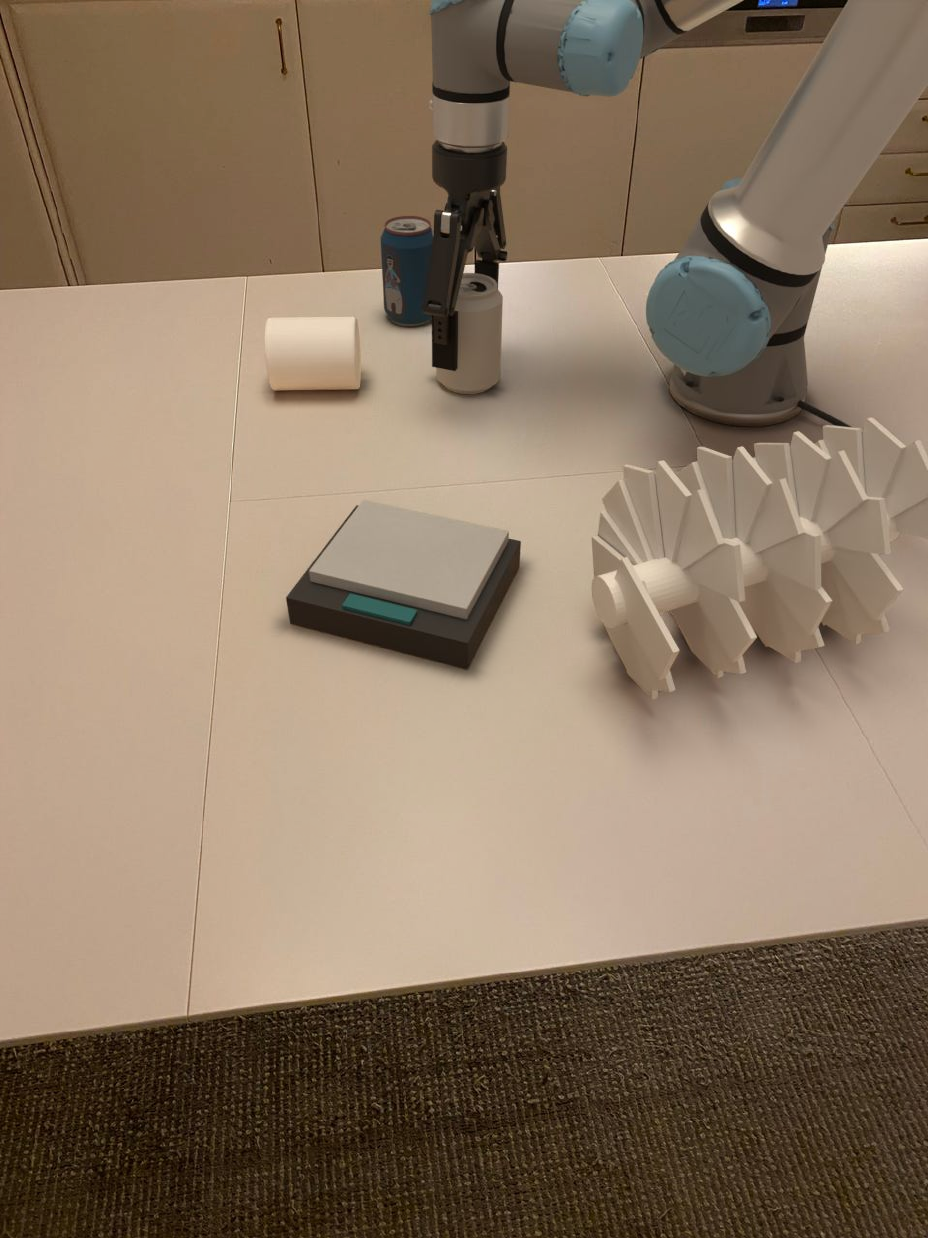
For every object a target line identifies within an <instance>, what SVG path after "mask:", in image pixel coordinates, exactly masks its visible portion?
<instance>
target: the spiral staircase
mask: <svg viewBox="0 0 928 1238" xmlns="http://www.w3.org/2000/svg"><path fill="white" fill-rule="evenodd" d="M852 427H853V426H851V427H842V426H835V425H833V424H831V425H829V424H825V425H823V426H822V437H823V439H818V440H817V441H816V442H815V443H814V442H813V441H811V440H810V439H809V438H808V437H807V436H806V435H805V434H803V433H802V432H800V431H799V430H797V431H793V433H792V436H791V437H792V438H791V442H790V443H789V442H757V443H753V450H754V457H752V456H751V454H750V453H749V452H748V451H747V449H746V448H745V447H744V446H743V445H742V446H738V447H736V450H735V453H734V456H731V455H728V454H725V453H724V452H720V451H716V450H714V449H711V448H708V447H705V446H704V445H703V446H698V447H696V454H697V455H696V456H697V458H696V459H697V460H696V461H693V462H690V463H689V464H688V465H687V466H684V468H682V469H681V470H679V471H678V472H676V473H675V472H674V471H673V469H672V468H671V467H670V466H669V465H668V463H667V462H666V461H665V460H664V459H662V460H659V461H657V462H656V463H657V464H656V469H655V471H653V470H650V469H646V468H642V467H639V466H635V465H631V464H624V465H622V470H623V471H622V472H623V479H620V480H617V482H616V483H615V484H614V485H613V486H612V487H610V489H609V491H608V492H607V493H606V494H605V495H604V496H603V497H602V498H601V500H602V503H603V506H604V509H605V510H603V511H600V515H599V520H598V521H599V522H598V529H597V534H595V535H591V551H592V565H593V566H592V567H593V568H592V569H593V578H592V580H591V589H590V590H591V591H590V592H591V597H592V598H591V599H592V602H593V605H594V606H593V607H594V609H595V611H596V614H597V616H598V619H600V621H601V622H602V624H603V625H604V626H605V630H606V633H607V635H608V637H609V639H610V641H611V643H612V644H613V646H614V649H615V650H616V652H617V654H618V656H619V658H620V660H621V662H622V664H623V666H624V667H625V669H626V674H627V675H628V676H629V677H630V678H631V679H632V680H633V681H634V683H636V684H637V685H638V686H639V687H640V688H641V690H642V691H643V692H644V693H646V695H648V697H649V698H650V699H651V700H654V699H657V698H659V692H665V693H670V692H671V693H672V692H674V691H676V686H675V684H674V679H673V676H672V672H671V668H672V666H673V664H674V662H675V660H676V658H677V657H678V655H679V653H680V648H679V647H678V644H677V643H676V641H675V640H674V638H673V636H672V634H671V632H670V630H669V628H668V627H667V625H666V624H665V622H664V619H663V618H662V616H661V614H662V613H666V612H669V611H670V613H671V614H672V617H673V618H674V620H675V622H676V624H677V626H678V628H679V630H680V632H681V634H682V636H683V638H684V640H685V641H686V643H687V645H688V648H689V650H690V652H691V653H692V654H693V655H695V657H697V658H698V660H699V661H700V662H701V663H702V664H704V666H705V667H706V668H707V669H708V670H709V671H710V672H711V673H712V674H713V675H714V676H715V677H716V678H717V679H720V678H723V677H724V676H725V673H731V674H735V675H736V674H737V675H744V674H746V673H747V669H746V668H747V667H746V665H745V661H744V656H743V655H744V654H745V652H747V650H748V649H749V648H750V646H752V644H753V643H754V641H756V640H757V638H759V639H760V641H761V643H762V644H763V645H764V647H765V648H768V647H769V648H771V649H773V650H774V651H776V652H777V653H779V654H781V655H782V656H784V657H785V658H786V659H789V660H790V661H791V662H793V663H794V664H798V663H801V662H802V651H807V650H813V649H818V648H821V647H825V642H824V639H823V637H822V634H821V631H820V627H819V626H820V624H821V625H822V626H823V627H824V626H827V627H829V628H830V629H832V630H834V631H835V632H836V633H838V634H839V635H841V636H842V637H844V638H845V639H847V640H849V642H851V643H853V644H854V645H858V644H861V643H862V636H863V635H869V634H883V633H884V634H885V633H888V632H890V631H891V630H890V627H889V626H890V625H889V623H888V620H887V616H886V613H887V612H888V610H889V609H890V608H891V607H892V606H893V604H894V603H895V601H896V600H897V599H898V598H899V597H900V596H901V594H902V593H903V591H905V589H904V587H902V585H901V584H900V582H899V581H898V580H897V578H896V577H895V576H894V574H893V573H892V572H891V570H890V569H889V567H888V566H887V565H886V564H885V562H884V561H883V559H882V558H881V556H880V555H883V556H888V555H890V554H892V549H891V542H894V541H895V540H897V538H898V537H899V534H900V533H901V534H902V533H903V534H906V535H910V536H914V537H918V538H924V539H927V540H928V453H927V452H926V449H925V448H924V446H923V443H922V441H921V439H918V440H914V441H913V442H911V443H910V444H908V445H907V446H906V445H905V444H904V443H903V442H902V441H900V440H899V439H898V438H897V437H896V436H895V435H894V434H893V433H891V432H890V431H889V430H888V429H887V428H886V427H884V426H883V425H882V424H881V423H880V422H878V421H877V420H876V419H875V418H874V417H873V416H872V417H867V418H866V420H865V423H864V426H863V429H862V428H861V427H853V428H852Z"/></svg>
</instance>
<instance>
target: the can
mask: <svg viewBox="0 0 928 1238" xmlns="http://www.w3.org/2000/svg"><path fill="white" fill-rule="evenodd" d="M503 299H504V296H503V294H502V293H501V291H500V290H499V288H498V289H497V282H496V281H495V280H494V279H493V278H491V277H489V276H486V275H483V274H478V273H474V272H463V277H462V281H461V285H460V289H459V294H458V298H457V302H456V307H455V311H458V368H457V370H456V371H451V370H446V369H441V368H436V367H435V368H436V369H435V371H436V372H435V373H436V374H435V375H436V378H437V381H438V382H439V383H440V384H441V385H442V386H444V387H445V388H446V389H447V390H448V391H451V392H453V393H456V394H461V395H476V394H481V393H484V392H486V391H488V390H490V389H491V388H492V387H493V386H495V385H496V384H497V383H498V382H499V380H500V379H501V369H502V335H503V331H502V330H503V304H504V303H503V301H504V300H503Z"/></svg>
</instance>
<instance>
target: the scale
mask: <svg viewBox="0 0 928 1238" xmlns="http://www.w3.org/2000/svg"><path fill="white" fill-rule="evenodd" d="M509 533H510V531H509V530H506V529H502V528H497V527H493V526H487V525H484V524H478V523H474V522H469V521H466V520H465V521H464V520H460V519H455V518H450V517H447V516H446V517H445V516H441V515H437V514H431V513H427V512H423V511H419V510H418V511H417V510H414V509H410V508H409V509H408V508H404V507H399V506H395V505H390V504H387V503H386V504H385V503H381V502H376V501H372V500H367V499H362V501H360V503H359V504H357V505H355V507H354V508H353V509H352V510H351V512H350V513H349V514H348V515H347V517H346V518H345V519H344V521H343V522H342V523H341V525H340V526H339V527H338V528H337V530H336V531H335V533H334V534H333V535H332V537H331V538H329V541H327V543H326V544H325V545H324V547H323V548H322V549H321V551H320V552H319V554H318V555H317V556H316V557H315V559H314V560H313V561H312V562H311V564H310V565H309V567H307V569H306V570H305V572H304V573H303V574H302V576H300V578H299V580H298V581H297V582H296V583H295V585H294V586H293V588H292V589H290V592H289V593H288V594H287V595H286V597H285V601H286V606H287V614H288V619H289V624H290V625H293V626H297V627H300V628H304V629H309V630H313V631H316V632H320V633H323V634H328V635H332V636H336V637H340V638H343V639H346V640H351V641H355V642H359V643H362V644H366V645H371V646H373V647H378V648H381V649H382V648H383V649H386V650H390V651H392V652H393V651H394V652H398V653H400V654H401V653H402V654H405V655H409V656H414V657H417V658H421V659H424V660H429V661H434V662H436V663H440V664H444V665H448V666H452V667H456V668H459V669H463V670H469V668H470V666H471V664H472V662H473V660H474V659H475V656H476V654H477V652H478V651H479V648H480V646H481V644H482V643H483V641H484V639H485V637H486V635H487V632H488V631H489V628H490V627H491V624H492V622H493V621H494V618H495V617H496V615H497V612H498V611H499V609H500V607H501V605H502V603H503V601H504V599H505V597H506V595H507V593H508V591H509V589H510V587H511V585H512V583H513V581H514V579H515V577H516V575H517V573H518V571H519V569H520V566H521V548H522V547H521V546H522V541H521V540H519V539H518V540H517V539H514V538H510V537H509V536H510V534H509Z"/></svg>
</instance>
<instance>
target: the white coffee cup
mask: <svg viewBox="0 0 928 1238" xmlns="http://www.w3.org/2000/svg"><path fill="white" fill-rule="evenodd" d="M263 337H264V340H263V341H264V342H263V346H264V347H263V348H264V360H265V361H264V362H265V369H266V376H267V381H268V384H269V386H270V388H271V390H273V391H325V390H327V391H329V390H330V391H331V390H335V391H336V390H359V389H360V387H361V380H362V360H361V355H362V354H361V338H360V328H359V322H358V318H357V317H356V316H312V317H311V316H303V317H302V316H300V317H299V316H298V317H297V316H296V317H295V316H292V317H291V316H290V317H268V318H267V319H266V321H265V325H264V335H263Z"/></svg>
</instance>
